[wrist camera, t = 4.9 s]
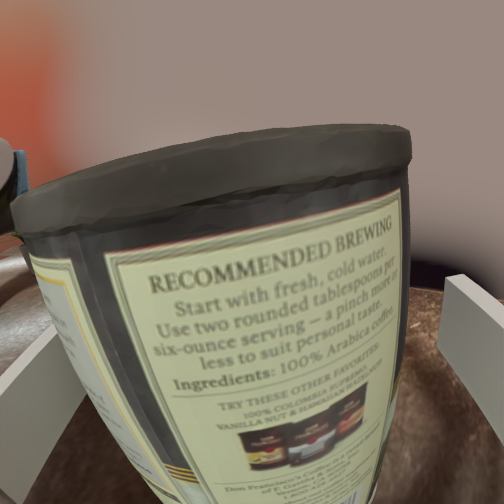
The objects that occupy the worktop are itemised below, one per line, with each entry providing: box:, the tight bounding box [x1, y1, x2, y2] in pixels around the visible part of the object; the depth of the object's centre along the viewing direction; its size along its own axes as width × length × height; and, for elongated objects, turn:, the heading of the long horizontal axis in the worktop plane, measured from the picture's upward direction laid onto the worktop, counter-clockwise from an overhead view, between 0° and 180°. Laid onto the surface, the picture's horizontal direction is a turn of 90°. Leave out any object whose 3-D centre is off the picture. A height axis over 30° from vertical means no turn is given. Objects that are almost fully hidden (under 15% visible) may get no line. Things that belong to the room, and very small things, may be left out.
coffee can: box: [10, 124, 412, 504], centre depth 10 cm, size 10×10×14 cm
